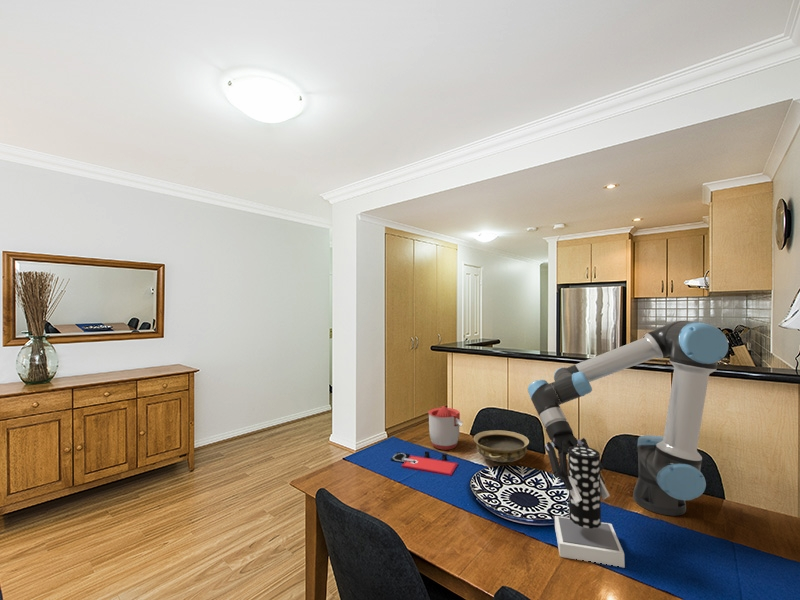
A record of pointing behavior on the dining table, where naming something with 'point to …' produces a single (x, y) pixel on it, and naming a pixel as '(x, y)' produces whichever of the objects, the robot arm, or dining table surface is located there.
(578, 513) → the spotted tube
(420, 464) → the red board with handle
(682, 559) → the dining table surface
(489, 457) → the ceramic bowl
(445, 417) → the citrus juicer
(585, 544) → the tray
